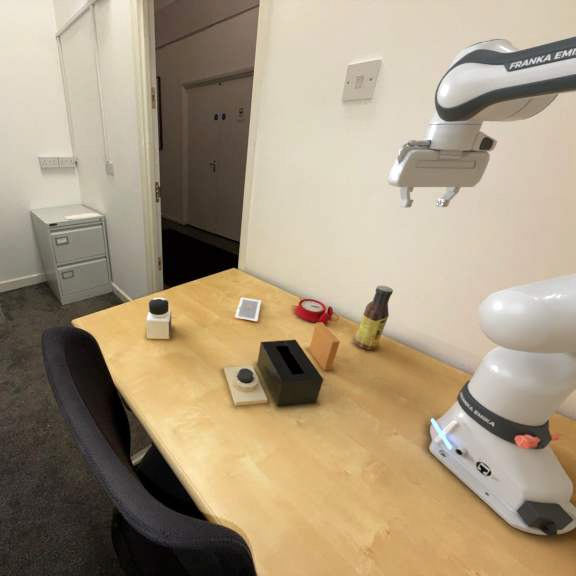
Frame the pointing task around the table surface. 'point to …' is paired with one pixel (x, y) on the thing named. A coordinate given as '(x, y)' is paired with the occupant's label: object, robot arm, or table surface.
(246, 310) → the touchpad
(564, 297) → the robot arm
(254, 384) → the control block
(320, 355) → the toast
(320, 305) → the alarm clock
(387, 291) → the sauce bottle
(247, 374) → the button
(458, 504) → the table surface
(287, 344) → the toaster
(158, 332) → the medicine bottle
